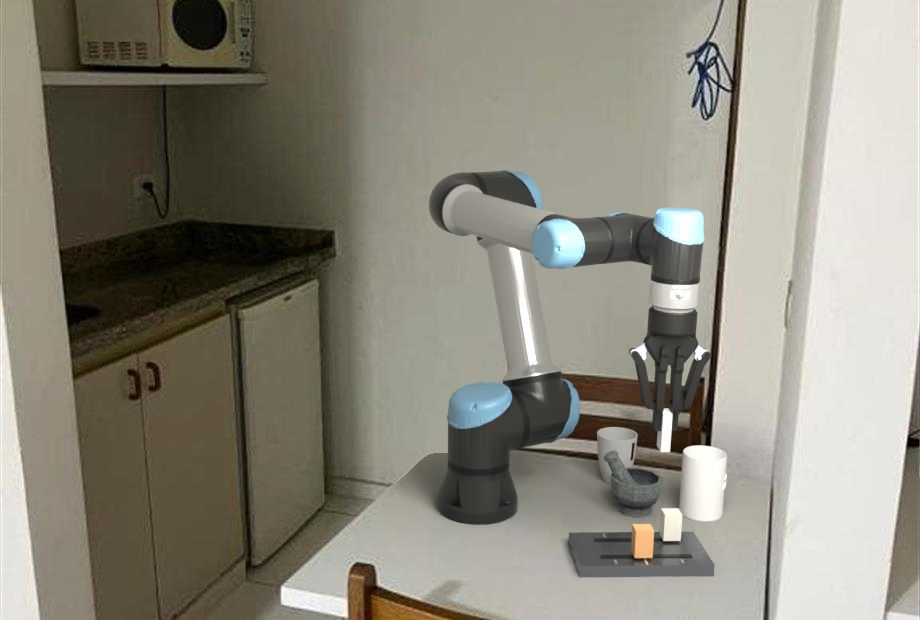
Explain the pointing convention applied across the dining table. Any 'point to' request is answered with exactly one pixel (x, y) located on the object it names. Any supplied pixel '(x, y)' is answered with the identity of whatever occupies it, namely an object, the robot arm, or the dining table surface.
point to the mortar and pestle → (633, 487)
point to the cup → (616, 447)
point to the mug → (703, 483)
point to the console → (615, 558)
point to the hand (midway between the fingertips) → (663, 448)
